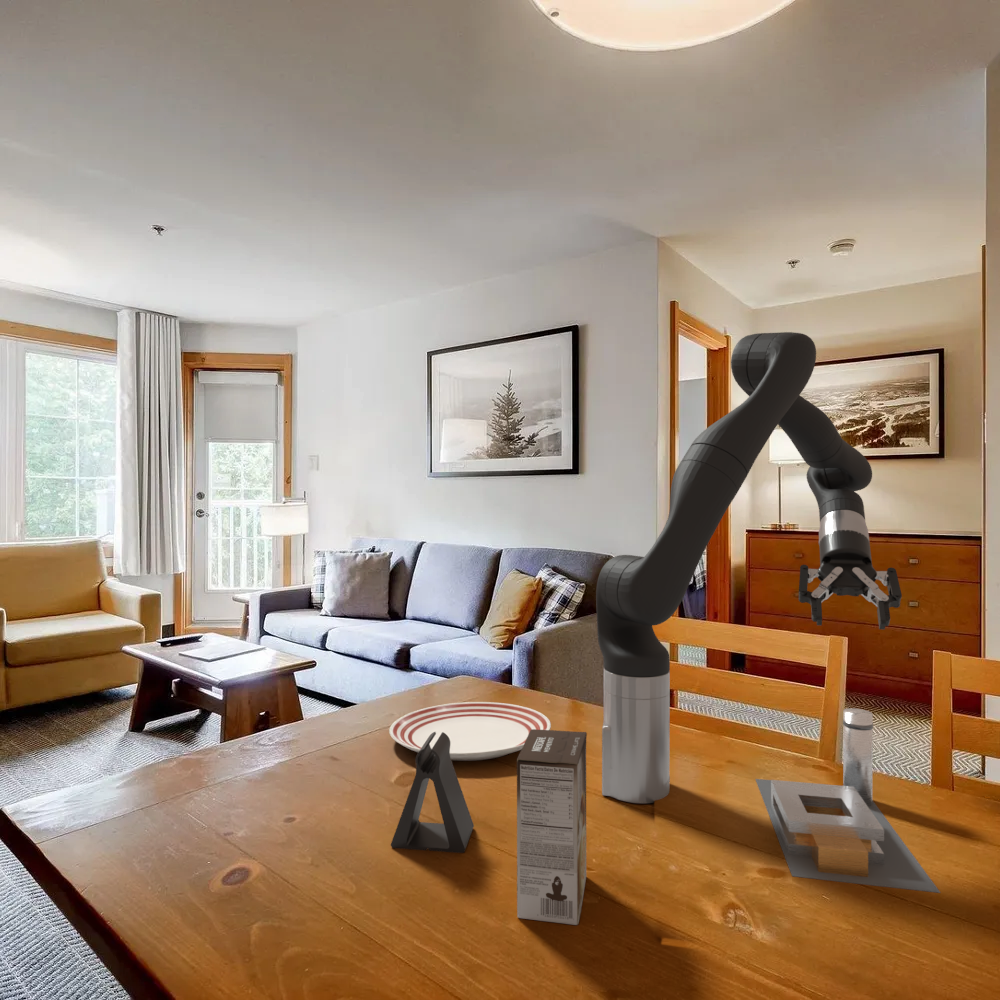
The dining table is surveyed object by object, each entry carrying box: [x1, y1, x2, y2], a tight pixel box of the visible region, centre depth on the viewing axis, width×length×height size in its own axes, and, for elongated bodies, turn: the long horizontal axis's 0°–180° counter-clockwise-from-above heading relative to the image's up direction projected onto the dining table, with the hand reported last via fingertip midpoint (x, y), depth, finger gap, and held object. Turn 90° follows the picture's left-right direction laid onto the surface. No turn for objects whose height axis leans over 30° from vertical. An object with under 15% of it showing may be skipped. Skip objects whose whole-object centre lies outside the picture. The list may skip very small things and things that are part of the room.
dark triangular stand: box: [390, 732, 475, 854], centre depth 83 cm, size 9×6×12 cm, turn 82°
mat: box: [755, 778, 941, 894], centre depth 85 cm, size 14×26×1 cm, turn 168°
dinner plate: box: [388, 701, 552, 762], centre depth 116 cm, size 27×27×3 cm
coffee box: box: [516, 729, 588, 926], centre depth 71 cm, size 9×6×16 cm
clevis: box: [770, 779, 884, 877], centre depth 81 cm, size 10×14×4 cm
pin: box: [842, 707, 874, 806], centre depth 92 cm, size 4×4×12 cm
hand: (850, 624), depth 103 cm, fingers open, 8 cm apart
